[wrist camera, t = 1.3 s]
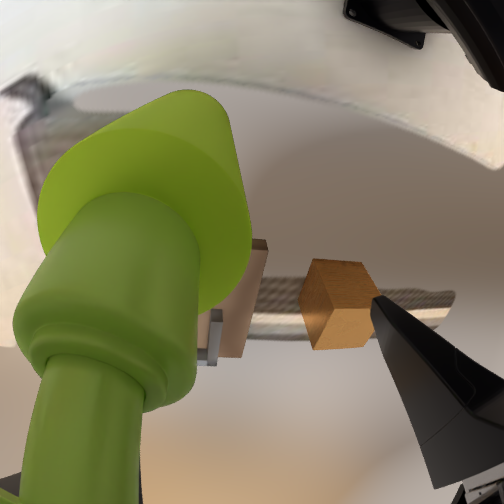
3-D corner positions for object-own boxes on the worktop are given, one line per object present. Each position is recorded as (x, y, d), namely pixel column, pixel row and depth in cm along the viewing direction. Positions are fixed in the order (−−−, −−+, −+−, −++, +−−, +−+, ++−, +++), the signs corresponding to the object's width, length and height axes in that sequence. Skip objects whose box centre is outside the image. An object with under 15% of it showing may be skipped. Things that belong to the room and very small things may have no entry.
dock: (265, 239, 23) (271, 263, 20) (240, 346, 31) (242, 369, 28) (91, 226, 20) (78, 248, 18) (114, 337, 28) (109, 359, 26)
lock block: (361, 261, 26) (388, 308, 21) (342, 300, 28) (363, 347, 24) (312, 258, 25) (334, 308, 20) (297, 300, 27) (312, 350, 23)
